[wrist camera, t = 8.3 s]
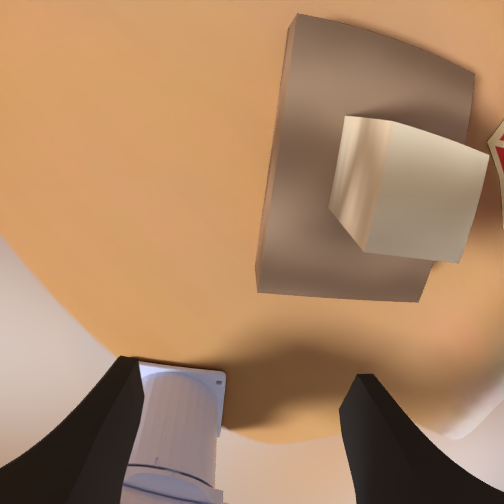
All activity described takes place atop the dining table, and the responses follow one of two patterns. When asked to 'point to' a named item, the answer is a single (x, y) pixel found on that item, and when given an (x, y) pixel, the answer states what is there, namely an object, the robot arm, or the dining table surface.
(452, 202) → the beech block
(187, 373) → the robot arm
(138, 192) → the dining table surface
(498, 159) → the milk carton
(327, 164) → the walnut slab
